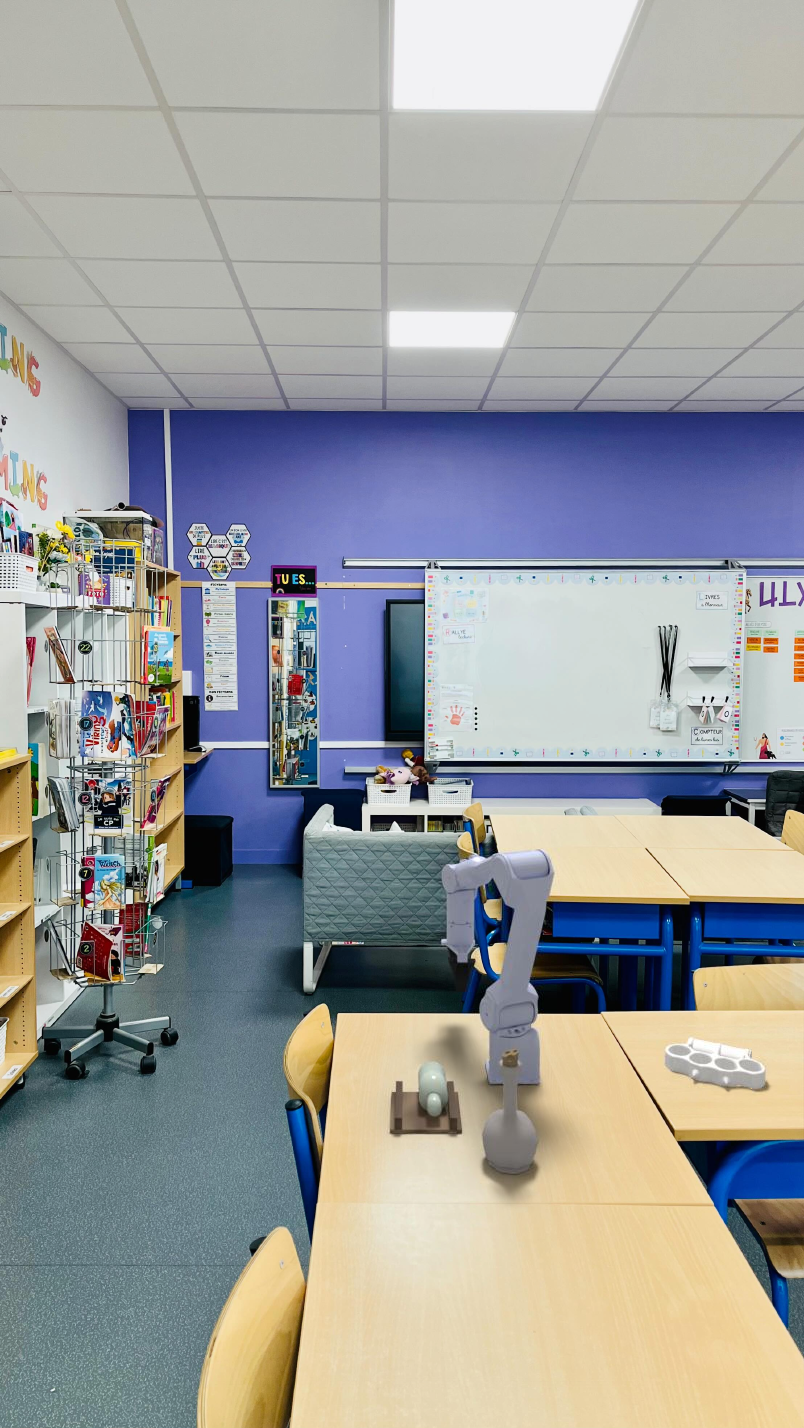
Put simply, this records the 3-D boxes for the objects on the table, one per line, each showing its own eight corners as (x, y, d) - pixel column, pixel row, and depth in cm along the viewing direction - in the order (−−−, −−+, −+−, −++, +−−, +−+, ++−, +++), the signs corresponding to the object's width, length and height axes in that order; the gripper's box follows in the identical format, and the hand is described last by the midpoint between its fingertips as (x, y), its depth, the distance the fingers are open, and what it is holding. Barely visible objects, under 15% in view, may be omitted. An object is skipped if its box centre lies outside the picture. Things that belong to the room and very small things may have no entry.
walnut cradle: (457, 1095, 151) (457, 1081, 151) (462, 1133, 139) (462, 1118, 139) (391, 1095, 151) (391, 1081, 151) (390, 1133, 139) (390, 1118, 139)
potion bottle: (536, 1181, 126) (538, 1066, 125) (478, 1174, 128) (478, 1061, 127) (539, 1148, 135) (540, 1040, 133) (484, 1141, 136) (484, 1035, 135)
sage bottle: (450, 1070, 152) (454, 1104, 140) (436, 1093, 152) (440, 1129, 141) (426, 1057, 152) (428, 1090, 140) (413, 1080, 152) (414, 1115, 140)
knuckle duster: (769, 1066, 162) (762, 1101, 149) (673, 1045, 171) (659, 1077, 158) (769, 1049, 162) (762, 1083, 149) (673, 1029, 170) (659, 1060, 158)
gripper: (439, 909, 182) (439, 970, 183) (442, 931, 167) (442, 997, 168) (472, 909, 182) (472, 970, 183) (477, 931, 167) (477, 997, 168)
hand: (460, 983), depth 175 cm, fingers open, 7 cm apart
